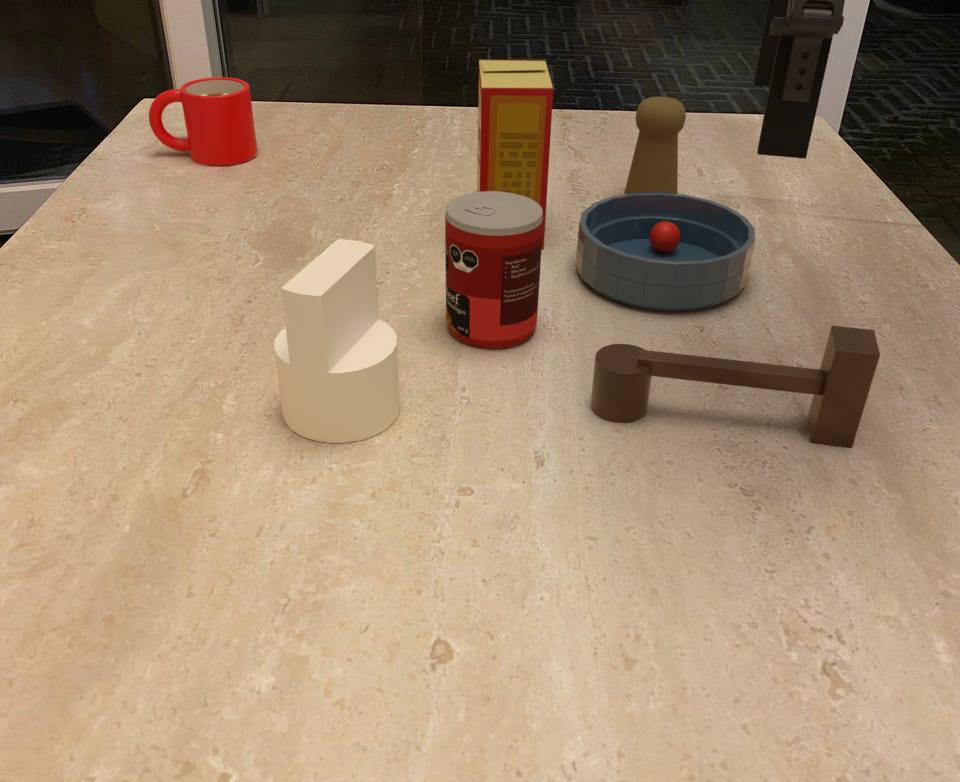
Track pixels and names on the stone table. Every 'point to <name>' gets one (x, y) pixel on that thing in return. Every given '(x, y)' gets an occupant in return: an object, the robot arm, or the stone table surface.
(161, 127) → the mug
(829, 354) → the wooden mallet
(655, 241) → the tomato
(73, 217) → the stone table surface
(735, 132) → the stone table surface
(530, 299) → the canned food
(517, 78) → the baking soda box
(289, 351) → the base with upright slab
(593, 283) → the bowl
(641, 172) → the cork
